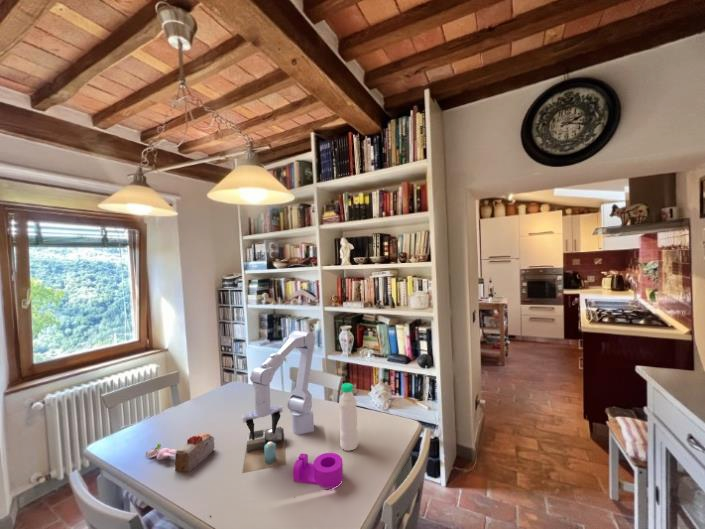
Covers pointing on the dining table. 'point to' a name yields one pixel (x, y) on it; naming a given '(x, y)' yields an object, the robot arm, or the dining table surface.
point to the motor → (264, 438)
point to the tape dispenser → (319, 470)
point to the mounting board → (263, 458)
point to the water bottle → (348, 418)
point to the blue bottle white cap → (270, 452)
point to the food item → (194, 452)
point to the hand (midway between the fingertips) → (263, 435)
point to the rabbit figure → (161, 452)
